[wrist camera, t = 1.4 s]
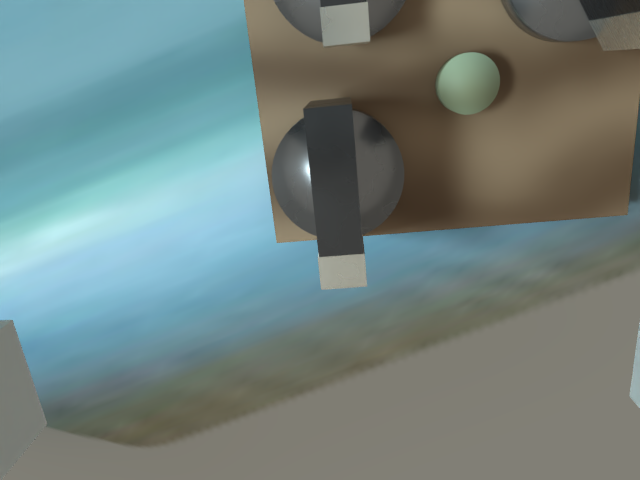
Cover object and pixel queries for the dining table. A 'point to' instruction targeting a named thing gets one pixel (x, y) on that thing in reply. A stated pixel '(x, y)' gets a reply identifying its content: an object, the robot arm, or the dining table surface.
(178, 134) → the dining table surface
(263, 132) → the base
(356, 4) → the knob
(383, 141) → the knob
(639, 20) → the knob
